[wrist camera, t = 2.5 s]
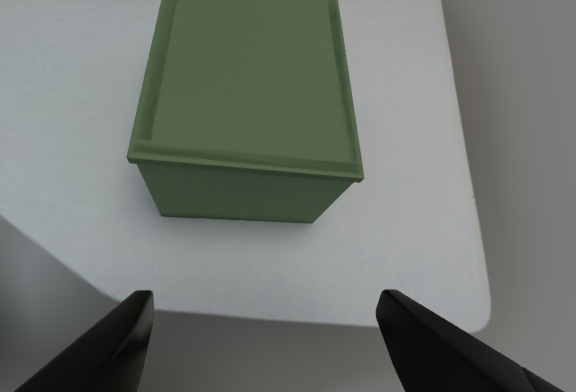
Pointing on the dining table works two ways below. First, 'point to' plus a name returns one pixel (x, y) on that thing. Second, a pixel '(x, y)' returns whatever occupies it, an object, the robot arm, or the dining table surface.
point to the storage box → (247, 111)
